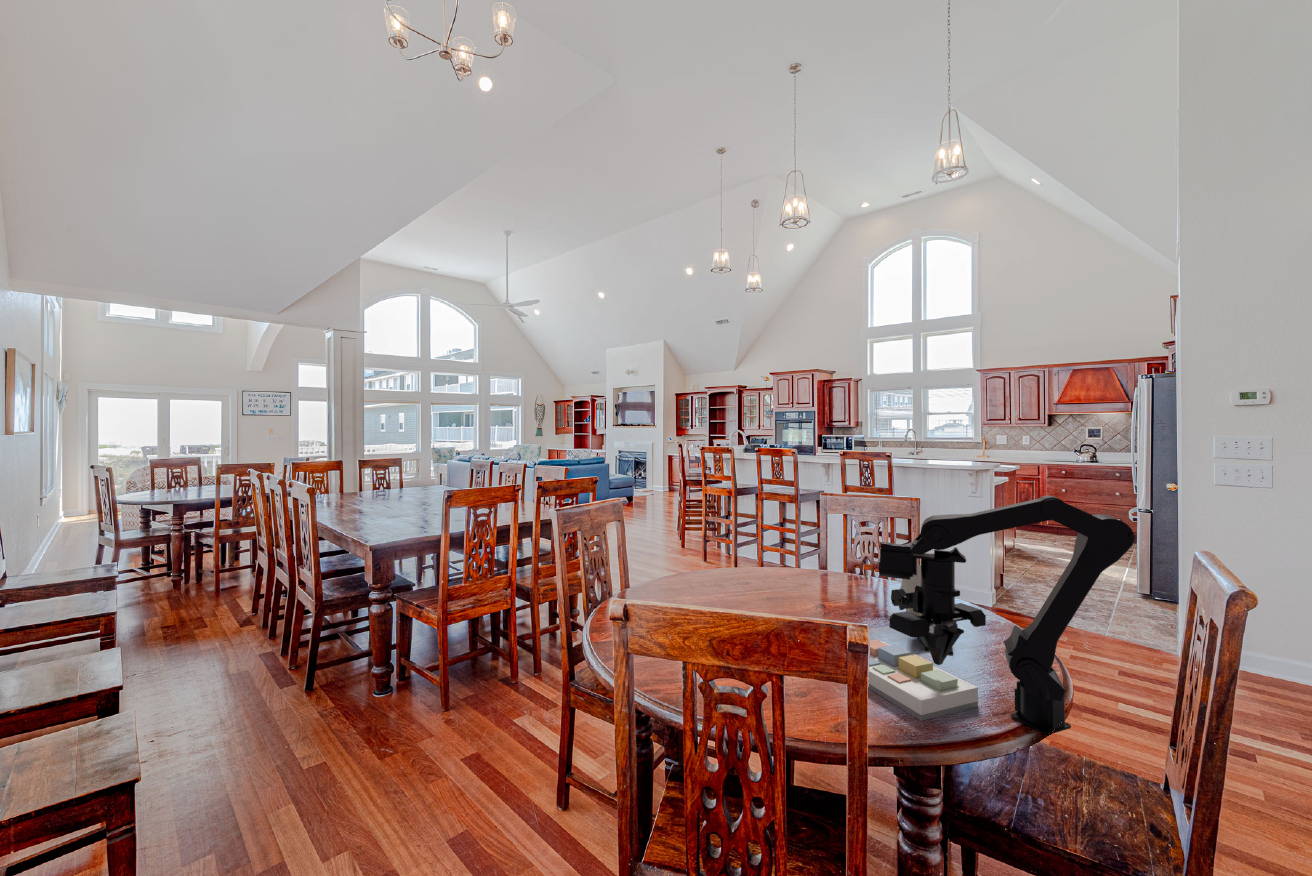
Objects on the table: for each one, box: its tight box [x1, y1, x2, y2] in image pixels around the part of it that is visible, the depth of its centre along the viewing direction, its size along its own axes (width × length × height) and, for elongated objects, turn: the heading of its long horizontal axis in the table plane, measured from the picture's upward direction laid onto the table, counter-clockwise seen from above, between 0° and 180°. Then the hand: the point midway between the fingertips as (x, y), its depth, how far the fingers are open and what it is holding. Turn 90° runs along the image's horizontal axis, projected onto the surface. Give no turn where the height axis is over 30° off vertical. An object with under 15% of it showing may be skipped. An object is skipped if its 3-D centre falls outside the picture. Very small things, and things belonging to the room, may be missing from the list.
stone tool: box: [899, 563, 922, 616], centre depth 148 cm, size 8×4×15 cm, turn 52°
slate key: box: [878, 644, 912, 667], centre depth 110 cm, size 4×4×4 cm
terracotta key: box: [870, 638, 890, 657], centre depth 115 cm, size 4×4×4 cm
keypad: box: [868, 640, 979, 722], centre depth 107 cm, size 24×14×4 cm, turn 20°
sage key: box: [921, 669, 958, 692], centre depth 100 cm, size 4×4×4 cm
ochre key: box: [899, 653, 934, 679], centre depth 105 cm, size 4×4×4 cm
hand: (937, 664), depth 100 cm, fingers closed
